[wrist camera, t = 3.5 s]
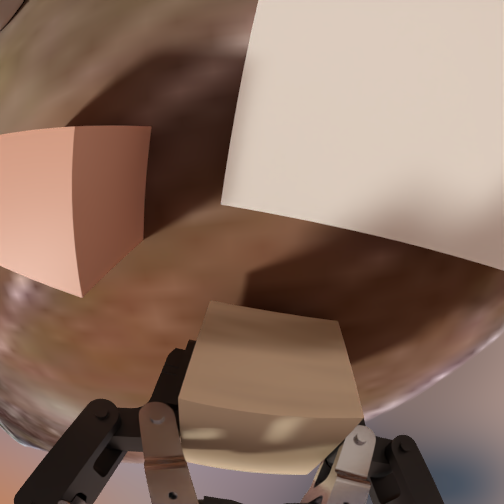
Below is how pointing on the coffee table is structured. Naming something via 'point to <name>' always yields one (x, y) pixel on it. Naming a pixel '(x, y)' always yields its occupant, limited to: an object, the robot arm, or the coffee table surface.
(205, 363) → the maple block
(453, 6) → the base plate
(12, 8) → the coffee cup
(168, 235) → the coffee table surface
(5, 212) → the terracotta block
